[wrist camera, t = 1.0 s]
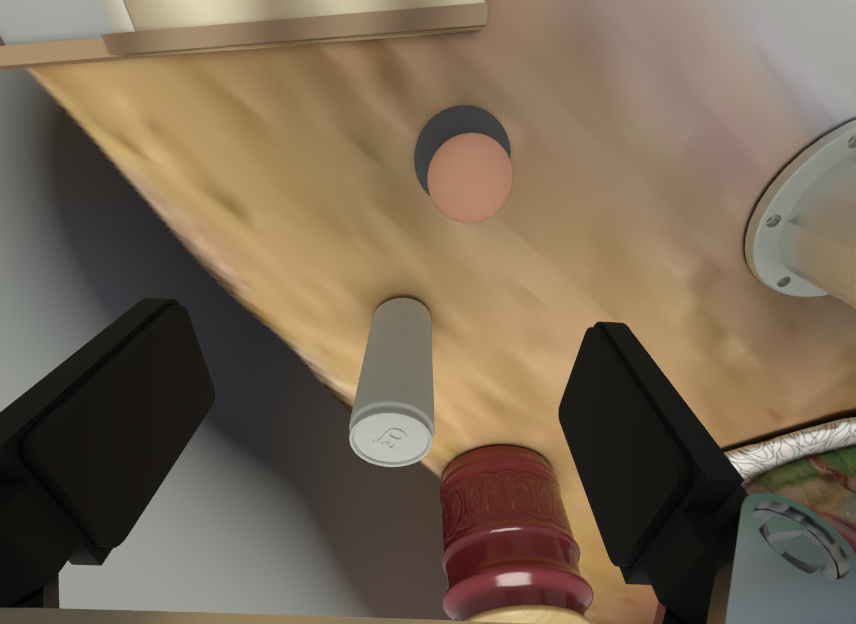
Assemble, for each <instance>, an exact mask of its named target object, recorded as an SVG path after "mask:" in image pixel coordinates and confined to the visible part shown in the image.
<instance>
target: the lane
mask: <svg viewBox="0 0 856 624" xmlns="http://www.w3.org/2000/svg"><path fill="white" fill-rule="evenodd" d="M102 3H103V5H104V7H105V10H106V12H107V15H108V17H109V19H110V22H111V24H112V27H113V29H114V31H115V33H111V34H100V35H101V37H102V39H103V42H104V44H105V46H106V48H107V51H108V53H109V55H120V56H145V57H160V56H173V55H185V54H198V53H210V52H222V51H235V50H247V49H260V48H272V47H284V46H297V45H309V44H322V43H334V42H347V41H359V40H371V39H384V38H396V37H409V36H421V35H434V34H446V33H458V32H471V31H479V30H480V29H482V28H483V27H485V26H486V25H487V17H488V2H484V0H102Z"/></svg>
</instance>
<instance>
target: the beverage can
mask: <svg viewBox="0 0 856 624" xmlns="http://www.w3.org/2000/svg"><path fill="white" fill-rule="evenodd" d="M349 429H350V437H349V440H350V444H351V447H352V448H353V450H354V452H355V453H356V454H357V455H359V456H360V457H361V458H362V459H364V460H366V461H368V462H370V463H373V464H376V465H380V466H387V467H400V466H405V465H409V464H412V463H415V462H417V461H419V460H420V459H422V458H423V457H425V455H426V454H427V453H428V452H429V451H430V448H431V446H432V438H433V435H434V395H433V367H432V319H431V315H430V312H429V311H428V310H427V308H426V307H425V306H424V305H423V304H421V303H420V302H418V301H416V300H414V299H409V298H396V299H392V300H389V301H387V302H385V303H383V304H382V305H380V306H379V307H378V308H377V309H376V311H375V313H374V314H373V319H372V324H371V328H370V333H369V337H368V342H367V346H366V351H365V356H364V360H363V365H362V369H361V374H360V379H359V383H358V388H357V392H356V397H355V401H354V406H353V411H352V415H351V420H350V425H349Z"/></svg>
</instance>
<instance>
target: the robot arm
mask: <svg viewBox="0 0 856 624" xmlns="http://www.w3.org/2000/svg"><path fill="white" fill-rule="evenodd" d="M745 255H746V259H747V264H748V266H749V268H750V270H751V271H752V273H753V275H754V276H755V277H756V278H757V279H759V280H760V281H761V282H762V283H763V284H765V285H766V286H768V287H770V288H771V289H773V290H774V291H777V292H780V293H782V294H785V295H788V296H797V297H817V296H824V295H829V294H831V295H832V296H834V297H836V298H838V299H839V300H841V301H843V302H845V303H847V304H848V305H850V306H852V307H854V308H855V309H856V120H853V121H851V122H849V123H847V124H845V125H843V126H841V127H839V128H838V129H836V130H834V131H832V132H831V133H829V134H827V135H825V136H824V137H822V138H821V139H820V140H818V141H817V142H816V143H814V144H813V145H812V146H810V147H809V148H807V149H806V150H805V151H803V152H802V153H801V154H800V155H799V156H798V157H797V158H796V159H795V160H794V161H793V162H791V163H790V164H789V165H788V166H787V167H786V168H785V169H784V170H783V171H782V172H781V174H780V175H779V176H778V177H777V178H776V179H775V181H774V182H773V183H772V184H771V185H770V187H769V188H768V190H767V191H766V193H765V194H764V196H763V197H762V199H761V200H760V202H759V203H758V205H757V207H756V209H755V211H754V214H753V216H752V218H751V220H750V223H749V226H748V230H747V234H746V238H745ZM214 400H215V389H214V386H213V383H212V380H211V378H210V375H209V372H208V369H207V366H206V363H205V361H204V358H203V354H202V352H201V349H200V346H199V343H198V340H197V337H196V334H195V331H194V329H193V325H192V323H191V320H190V317H189V314H188V311H187V309H186V308H185V307H183V306H180V304H179V303H178V302H177V301H176V300H174V299H164V298H163V299H162V298H144V299H143V300H140V301H139V302H138V303H137V304H135V305H134V306H133V307H132V308H131V309H129V310H128V311H127V312H125V313H124V314H123V315H122V316H120V317H119V318H118V319H117V320H116V321H114V322H113V323H112V324H110V325H109V326H108V327H107V328H105V329H104V330H103V331H102V332H101V333H99V334H98V335H97V336H95V337H94V338H93V339H92V340H90V341H89V342H88V343H87V344H85V345H84V346H83V347H82V348H80V349H79V350H78V351H77V352H75V353H74V354H73V355H72V356H70V357H69V358H68V359H67V360H66V361H64V362H63V363H62V364H60V365H59V366H58V367H57V368H55V369H54V370H53V371H52V372H50V373H49V374H48V375H47V376H45V377H44V378H43V379H42V380H40V381H39V382H38V383H37V384H35V385H34V386H33V387H32V388H30V389H29V390H28V391H27V392H25V393H24V394H23V395H22V396H20V397H19V398H18V399H16V400H15V401H14V402H13V403H11V404H10V405H9V406H8V407H6V408H5V409H4V410H3V411H1V412H0V624H528V623H501V622H475V621H448V620H420V619H391V618H389V619H388V618H359V617H330V616H299V615H298V616H297V615H265V614H235V613H234V614H233V613H203V612H167V611H130V610H92V609H90V610H89V609H60V608H59V574H58V573H59V572H60V570H61V569H62V568H63V566H64V565H65V564H66V562H67V561H69V562H70V563H71V564H73V565H102V564H103V562H104V561H105V559H106V558H107V556H108V555H109V553H110V552H111V550H112V549H113V548H115V547H117V546H119V545H120V544H121V543H122V542H123V541H124V540H125V539H126V537H127V536H128V534H129V533H130V531H131V530H132V528H133V527H134V525H135V524H136V522H137V521H138V519H139V517H140V516H141V514H142V513H143V511H144V510H145V508H146V507H147V505H148V504H149V502H150V501H151V499H152V497H153V496H154V494H155V493H156V491H157V490H158V488H159V487H160V485H161V484H162V482H163V481H164V479H165V477H166V476H167V474H168V473H169V471H170V470H171V468H172V467H173V465H174V464H175V462H176V460H177V459H178V457H179V455H180V454H181V453H182V451H183V450H184V448H185V447H186V445H187V443H188V442H189V440H190V439H191V437H192V436H193V434H194V433H195V431H196V430H197V428H198V427H199V425H200V424H201V422H202V421H203V419H204V417H205V416H206V414H207V413H208V411H209V410H210V408H211V407H212V405H213V403H214ZM559 421H560V424H561V427H562V429H563V432H564V435H565V438H566V440H567V443H568V446H569V449H570V451H571V454H572V457H573V460H574V462H575V465H576V468H577V471H578V473H579V476H580V479H581V482H582V484H583V487H584V490H585V493H586V495H587V498H588V501H589V504H590V506H591V509H592V512H593V515H594V517H595V520H596V523H597V526H598V528H599V531H600V534H601V537H602V540H603V542H604V545H605V548H606V551H607V553H608V556H609V558H610V560H611V562H612V563H613V564H614V565H615V566H619V567H620V569H621V572H622V575H623V577H624V580H625V583H626V584H640V585H652V587H653V589H654V592H655V594H656V596H657V599H658V601H659V604H658V607H657V611H656V615H655V618H654V622H653V624H856V553H855V552H854V550H853V549H852V547H851V546H850V544H849V543H848V542H847V541H846V540H845V539H844V538H843V537H842V535H841V534H840V533H839V532H838V531H837V530H836V529H835V528H834V527H833V526H831V525H830V524H829V523H828V522H826V521H825V520H824V519H823V518H821V517H820V516H819V515H818V514H816V513H815V512H813V511H811V510H810V509H808V508H806V507H805V506H803V505H801V504H800V503H798V502H795V501H793V500H791V499H788V498H786V497H784V496H781V495H776V494H772V493H768V492H761V493H753V494H751V495H748V494H747V492H746V491H745V490H744V488H743V487H742V486H741V484H742V482H743V481H744V479H743V477H742V476H741V475H740V473H739V472H738V471H737V470H736V468H735V467H734V466H733V464H732V463H731V462H730V460H729V459H728V458H727V456H726V455H725V454H724V452H723V451H722V450H721V448H720V447H719V446H718V445H717V443H716V442H715V441H714V439H713V438H712V437H711V435H710V434H709V433H708V431H707V430H706V429H705V427H704V426H703V425H702V423H701V422H700V421H699V420H698V418H697V417H696V416H695V414H694V413H693V412H692V410H691V409H690V408H689V406H688V405H687V404H686V402H685V401H684V400H683V398H682V397H681V396H680V395H679V393H678V392H677V391H676V389H675V388H674V387H673V385H672V384H671V383H670V381H669V380H668V379H667V377H666V376H665V375H664V373H663V372H662V371H661V370H660V368H659V367H658V366H657V364H656V363H655V362H654V360H653V359H652V358H651V356H650V355H649V354H648V352H647V351H646V350H645V348H644V347H643V346H642V345H641V343H640V342H639V341H638V339H637V338H636V337H635V335H634V334H633V333H632V331H631V330H630V329H629V327H628V326H627V325H626V324H624V323H615V322H597V323H596V324H595V325H594V327H590V328H588V329H587V330H586V333H585V335H584V338H583V341H582V344H581V346H580V349H579V352H578V355H577V358H576V361H575V363H574V366H573V369H572V372H571V375H570V377H569V380H568V383H567V386H566V389H565V392H564V394H563V397H562V400H561V403H560V406H559Z"/></svg>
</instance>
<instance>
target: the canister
mask: <svg viewBox="0 0 856 624" xmlns="http://www.w3.org/2000/svg"><path fill="white" fill-rule="evenodd" d="M440 505H441V508H442V531H443V555H442V567H443V569H444V571H445V573H446V574H447V577H448V589H447V591H446V593H445V595H444V597H443V607H444V610H445V612H446V613H447V615H448V616H449V617H450V618H451V619H452V620H454V621H475V622H501V623H528V624H591V622H590V621H589V620H588V619H587V618H586V617H585V616H584V613H585V612H586V611H587V610H588V608H589V607H590V605H591V603H592V601H593V590H592V588H591V586H590V584H589V583H588V582H587V581H586V580H585V579H584V578H583V577H581V574H580V570H579V566H578V562H579V559H580V549H579V546H578V544H577V542H576V541H575V540H574V537H573V534H572V530H571V527H570V524H569V521H568V518H567V514H566V511H565V508H564V505H563V502H562V498H561V490H560V486H559V484H558V480H557V477H556V475H555V474H554V472H553V471H552V469H551V467H550V465H549V463H548V462H547V461H546V460H545V459H544V458H543V457H542V456H540V455H539V454H537V453H535V452H533V451H531V450H528V449H524V448H520V447H515V446H490V447H484V448H480V449H476V450H473V451H471V452H468V453H466V454H464V455H462V456H460V457H458V458H457V459H456V460H454V461H453V462H452V463H451V464H450V465H449V466H448V467H447V468H446V470H445V472H444V474H443V476H442V484H441V487H440Z"/></svg>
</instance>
